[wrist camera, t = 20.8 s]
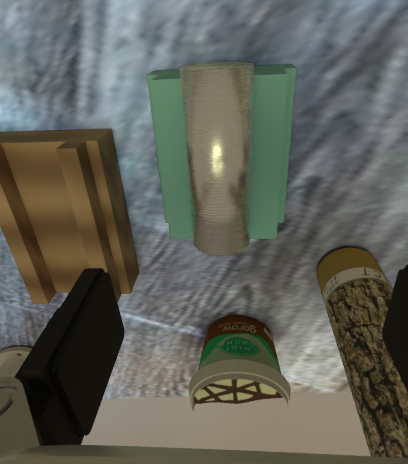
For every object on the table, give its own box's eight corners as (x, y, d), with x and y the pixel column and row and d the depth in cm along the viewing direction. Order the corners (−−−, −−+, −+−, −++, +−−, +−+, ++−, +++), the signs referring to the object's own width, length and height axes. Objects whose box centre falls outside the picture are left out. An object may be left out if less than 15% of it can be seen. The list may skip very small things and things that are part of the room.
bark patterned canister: (334, 298, 42) (430, 574, 21) (304, 264, 40) (377, 536, 19) (386, 272, 40) (556, 559, 18) (357, 233, 37) (512, 512, 16)
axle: (245, 223, 32) (253, 253, 28) (192, 227, 32) (193, 257, 28) (247, 60, 25) (260, 67, 21) (180, 64, 25) (178, 71, 21)
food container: (276, 303, 44) (286, 370, 35) (283, 335, 47) (293, 405, 38) (185, 314, 46) (173, 380, 38) (197, 344, 49) (188, 411, 41)
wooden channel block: (139, 272, 43) (125, 306, 38) (49, 271, 44) (24, 303, 39) (111, 128, 33) (88, 147, 28) (-3, 132, 35) (-44, 151, 30)
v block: (280, 208, 36) (287, 238, 31) (170, 209, 38) (160, 238, 33) (291, 64, 29) (302, 73, 24) (154, 70, 30) (137, 80, 25)
